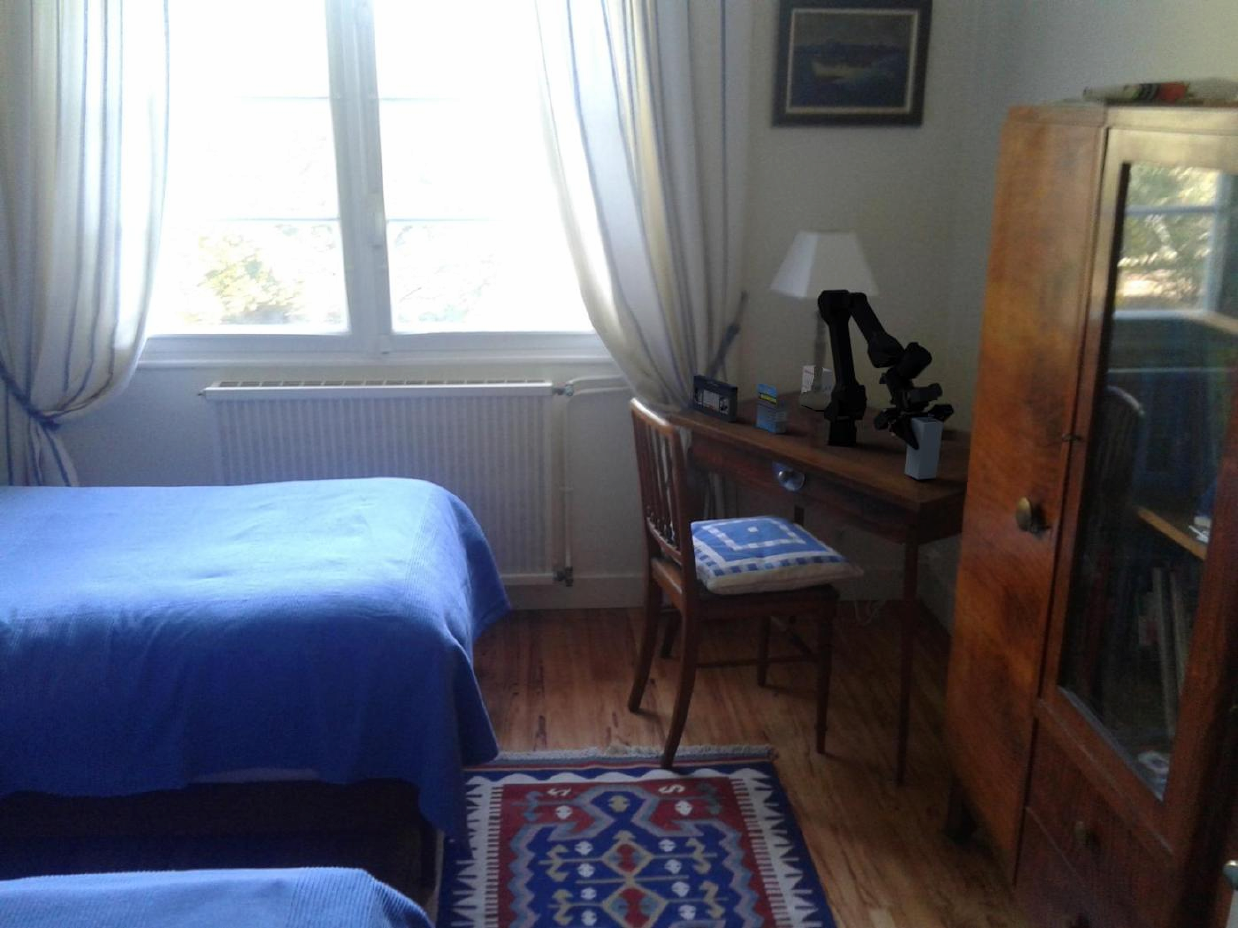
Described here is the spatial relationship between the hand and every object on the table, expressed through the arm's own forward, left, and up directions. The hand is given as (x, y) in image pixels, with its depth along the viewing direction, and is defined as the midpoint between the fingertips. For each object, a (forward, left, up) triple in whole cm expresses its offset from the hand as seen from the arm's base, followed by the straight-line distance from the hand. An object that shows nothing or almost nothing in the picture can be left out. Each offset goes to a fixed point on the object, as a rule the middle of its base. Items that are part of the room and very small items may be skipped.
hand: (927, 448), depth 240 cm
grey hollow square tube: (-1, +1, -7) cm, 7 cm away
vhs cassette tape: (-57, +45, -8) cm, 73 cm away
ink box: (-30, +65, -8) cm, 72 cm away
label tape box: (-39, +35, -8) cm, 53 cm away
